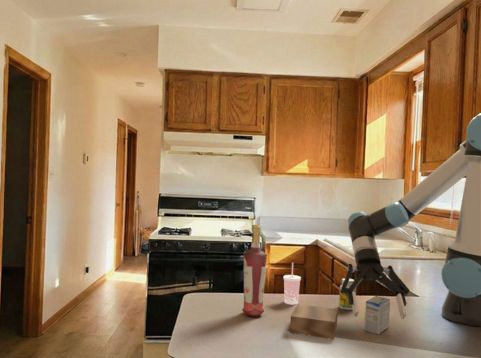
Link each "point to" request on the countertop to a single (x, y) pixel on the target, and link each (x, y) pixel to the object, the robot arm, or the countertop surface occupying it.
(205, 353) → the countertop surface
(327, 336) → the walnut block
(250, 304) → the liquor
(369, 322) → the medicine box
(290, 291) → the beverage cup
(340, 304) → the supplement bottle
